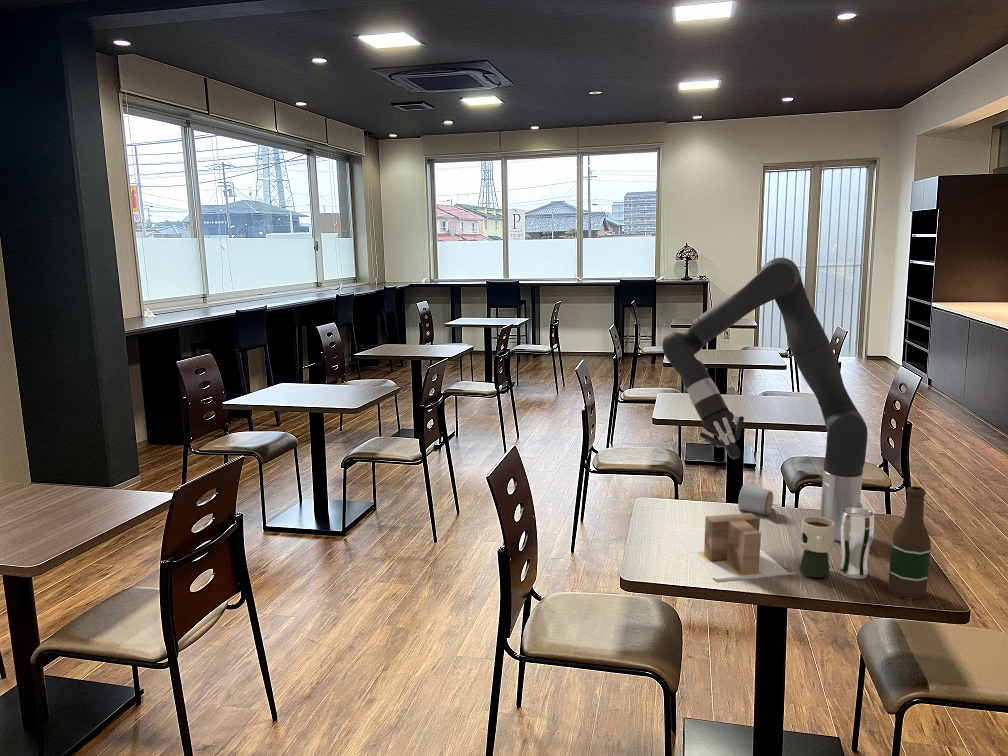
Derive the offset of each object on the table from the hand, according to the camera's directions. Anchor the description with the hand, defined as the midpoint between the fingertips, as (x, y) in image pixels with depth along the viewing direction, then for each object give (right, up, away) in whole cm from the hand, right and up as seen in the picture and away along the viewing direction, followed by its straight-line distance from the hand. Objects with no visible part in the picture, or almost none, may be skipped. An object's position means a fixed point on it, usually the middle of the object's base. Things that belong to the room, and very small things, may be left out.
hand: (736, 457), depth 198 cm
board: (-6, -23, -8) cm, 25 cm away
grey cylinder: (+11, -17, +19) cm, 28 cm away
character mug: (+12, -25, -21) cm, 35 cm away
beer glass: (+21, -25, -20) cm, 38 cm away
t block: (-5, -23, -16) cm, 29 cm away
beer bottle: (+28, -27, -30) cm, 49 cm away
